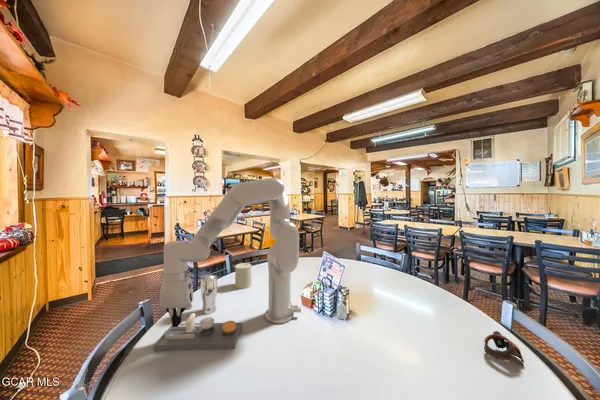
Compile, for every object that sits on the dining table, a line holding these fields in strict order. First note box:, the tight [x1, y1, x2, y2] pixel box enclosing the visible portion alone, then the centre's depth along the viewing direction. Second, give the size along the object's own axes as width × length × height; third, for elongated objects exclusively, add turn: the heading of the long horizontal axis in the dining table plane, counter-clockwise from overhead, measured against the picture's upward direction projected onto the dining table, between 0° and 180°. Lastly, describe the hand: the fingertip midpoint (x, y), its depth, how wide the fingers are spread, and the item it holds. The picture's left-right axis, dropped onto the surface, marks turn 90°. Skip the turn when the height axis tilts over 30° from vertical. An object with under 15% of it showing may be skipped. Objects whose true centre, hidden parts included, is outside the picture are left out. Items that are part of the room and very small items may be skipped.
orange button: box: [222, 320, 237, 333], centre depth 82 cm, size 5×5×3 cm
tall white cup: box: [200, 274, 218, 315], centre depth 100 cm, size 7×7×15 cm
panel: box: [153, 322, 243, 352], centre depth 82 cm, size 27×12×3 cm, turn 93°
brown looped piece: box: [483, 330, 525, 364], centre depth 74 cm, size 12×10×8 cm
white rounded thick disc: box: [199, 316, 215, 330], centre depth 82 cm, size 5×5×3 cm
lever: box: [185, 312, 197, 334], centre depth 81 cm, size 3×5×6 cm, turn 3°
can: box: [234, 262, 253, 290], centre depth 127 cm, size 9×9×12 cm
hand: (176, 324), depth 81 cm, fingers closed
